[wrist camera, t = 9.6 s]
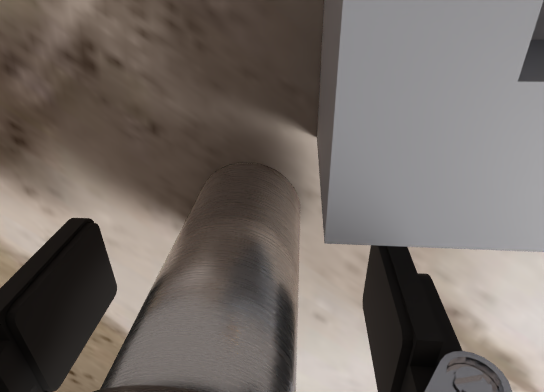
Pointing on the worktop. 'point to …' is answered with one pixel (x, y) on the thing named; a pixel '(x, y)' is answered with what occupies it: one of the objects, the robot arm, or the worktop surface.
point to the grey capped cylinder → (222, 295)
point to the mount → (433, 123)
